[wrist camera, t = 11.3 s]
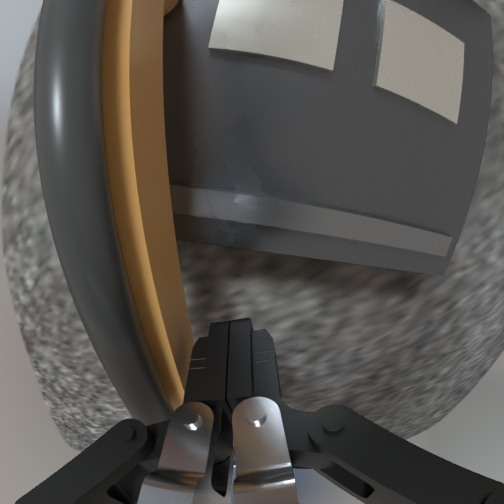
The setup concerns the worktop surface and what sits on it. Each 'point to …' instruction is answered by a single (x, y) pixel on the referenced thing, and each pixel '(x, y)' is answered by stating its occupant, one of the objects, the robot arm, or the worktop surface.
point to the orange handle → (114, 191)
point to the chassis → (327, 126)
